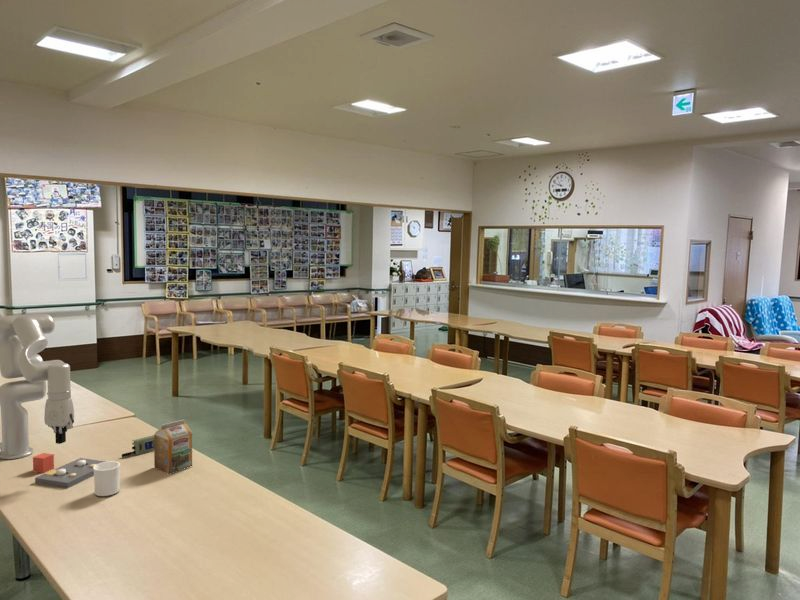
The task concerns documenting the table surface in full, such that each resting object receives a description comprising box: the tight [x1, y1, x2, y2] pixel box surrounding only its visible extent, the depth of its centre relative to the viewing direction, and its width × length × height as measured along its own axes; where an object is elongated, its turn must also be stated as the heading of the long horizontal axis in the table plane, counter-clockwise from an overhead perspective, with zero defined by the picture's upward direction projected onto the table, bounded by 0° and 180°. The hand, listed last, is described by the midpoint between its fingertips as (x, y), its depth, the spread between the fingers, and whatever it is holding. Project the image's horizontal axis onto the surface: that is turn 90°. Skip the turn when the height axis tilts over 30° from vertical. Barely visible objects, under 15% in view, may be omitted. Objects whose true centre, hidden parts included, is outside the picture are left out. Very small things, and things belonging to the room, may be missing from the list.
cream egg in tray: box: [56, 469, 66, 476], centre depth 223 cm, size 3×3×2 cm
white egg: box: [77, 460, 86, 467], centre depth 232 cm, size 3×3×2 cm
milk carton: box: [153, 419, 193, 475], centre depth 237 cm, size 11×11×19 cm
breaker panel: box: [34, 457, 106, 489], centre depth 227 cm, size 15×22×3 cm
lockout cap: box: [32, 452, 55, 474], centre depth 231 cm, size 5×5×6 cm
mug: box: [93, 460, 121, 499], centre depth 212 cm, size 11×9×10 cm
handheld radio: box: [121, 434, 154, 458], centre depth 256 cm, size 7×3×25 cm
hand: (60, 442), depth 221 cm, fingers closed
